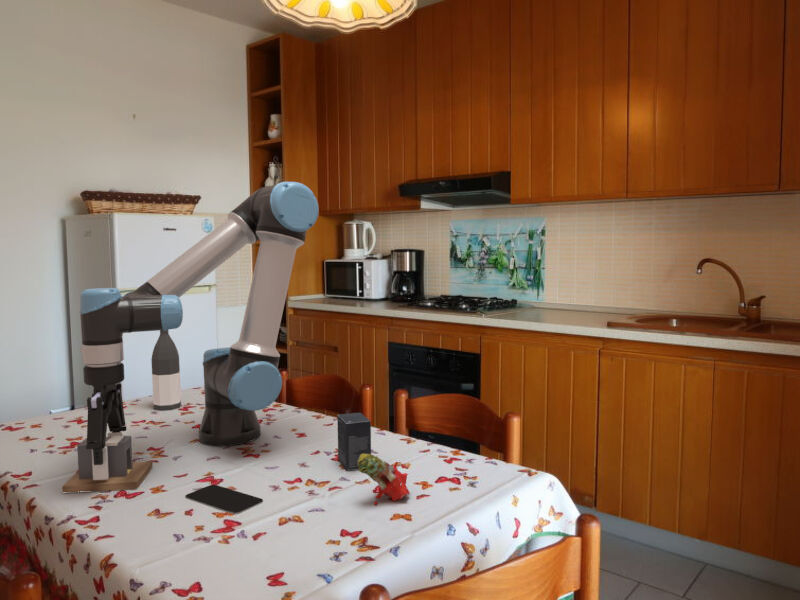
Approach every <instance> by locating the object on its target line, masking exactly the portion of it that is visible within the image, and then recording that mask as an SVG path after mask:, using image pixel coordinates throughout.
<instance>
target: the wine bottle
mask: <svg viewBox="0 0 800 600" xmlns="http://www.w3.org/2000/svg"><path fill="white" fill-rule="evenodd" d="M180 369H181V368H180V355H179V350H178V349H177V346H176V344H175V342H174V340H173V338H172V337H171V335H170V334H169V330H166V331H164V330H159V336H158V339H157V340H156V343H155V345H154V348H153V350H152V354H151V377H152V378H151V379H152V382H151V383H152V397H153V398H152V399H153V401H152V402H153V403H152V404H153V409H154V410H155V411H162V412H163V411H172V410H176V409H180V408H181V405H182V394H181V392H182V391H181V371H180Z"/></svg>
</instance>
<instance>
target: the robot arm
mask: <svg viewBox="0 0 800 600" xmlns="http://www.w3.org/2000/svg"><path fill="white" fill-rule="evenodd" d="M319 212H320V209H319V203H318V200H317V197H316V196H315V194H314V192H313V191H312V189H310V188H309V187H308V186H307V185H305V184H304V183H301V182H298V181H297V182H296V181H282V182H279V183H277V184H272V185H266V186H264V187H263V186H262V187H260V188H259V189H257V190H255V191H254V192H253V193H251V195H249V196H248V197H247V198H246V199H244V200H243V201H242V202H241V203H240V204H239V205H237V206H236V207H235V208H234V209H232V210H231V211H230V212H229V213H228V214H227V220H224V222H222V223H221V224H220V225H219V226H217V227H216V228H215V229H213V230H212V231H211V232H209V233H208V234H207V235H205V236H204V237H202V238H201V239H200V240H199V241H198V242H196V243H195V244H194V245H192V246H191V247H190V248H189V249H187V250H186V251H184V252H183V253H182V254H181V255H179V256H178V257H177V258H175V259H174V260H173V261H172V262H170V263H169V264H167V265H166V266H164V267H163V268H162V269H161V270H160V271H158V272H157V273H156V274H155V275H153V276H152V277H151V278H149V279H148V280H147V281H145V282H144V283H143V284H142V285H140V286H139V287H137V288H136V289H135V290H132V291H129V292H126V293H125V294H124V295H122V294H121V290H120V289H119V288H117V287H101V288H100V287H98V288H97V287H96V288H87V289H86V288H85V289H84V290H83V291H81V292H80V306H79V307H80V308H79V309H80V311H79V314H80V330H81V345H82V347H81V348H80V349H79V351H80V353H82V363H83V364H84V366H83V368H82V370H83V371H82V373H83V383H84V384H85V385H87V386H92V387H93V390H92V391H93V392H92V395H91V397H89V396H88V397H87V398H86V406H87V423H86V424H87V426H86V429H87V430H86V438H87V446H86V449H92V467H93V480H105V479H108V478H109V474H108V453H107V446H106V447H105V441H106V437H112V436H118V435H123V432H126V431H127V426H125V425H126V419H125V411H124V402H123V395H122V393H123V392H122V382H123V381H124V380H125V364H124V363H123V362H124V360H125V357H124V356H125V355H124V353H125V352H124V341H123V336H124V335H123V334H125V333H126V334H130V333H137V332H140V333H141V332H154V331H155V332H157V331H160V330H164V331H166V330H168V331H170V330H176V329H178V328H180V327H181V325H182V323H183V316H184V315H183V314H184V312H183V311H184V310H183V309H184V308H183V304H182V301H181V296H183V295H185V294H186V293H187V292H188V291H190V289H192V288H193V287H195V286H196V285H197V284H198V283H199V282H201V281H202V280H203V279H205V278H206V277H207V276H209V274H211V273H212V272H213V271H215V270H216V269H217V268H219V267H220V266H221V265H222V264H223V263H225V262H226V261H227V260H229V258H231V257H233V256H234V255H235V254H236V253H237V252H238V251H240V250H241V249H242V248H244V247H245V246H247V244H248V245H249V244H250V245H254V244H255V243H256V242H258V241H259V247H258V252H257V255H256V260H255V265H254V270H253V274H252V275H253V276H252V278H251V283H250V288H249V292H248V296H247V297H248V298H247V302H246V307H245V311H244V316H243V321H242V325H241V328H240V334H239V338H238V340H237V341H236V342H235V343H233V344H231V345H230V347H220V348H211V349H207V350H205V351H204V352H203V356H202V357H203V361H202V366H203V384H204V385H203V387H204V406H205V407H204V411H203V416H202V418H201V419H202V420H201V422H200V426H199V429H198V441H199V442H200V443H202V444H204V445H208V446H217V447H218V446H220V447H221V446H224V447H225V446H235V445H241V444H245V443H249V442H252V441H254V440H257V439H258V438H259V437H260V436H261V435H262V433H261V432H262V431H261V425H260V421H259V418H258V416H257V414H256V411H260V410H263V409H266V408H268V407H269V406H270V405H272V404H273V403H274V402H275V401H276V400H277V398H278V397H279V395H280V393H281V390H282V386H283V377H282V375H281V373H280V371H279V369H278V368H279V362H280V359H281V358H280V357H281V354H280V353H279V351H278V350H277V348H276V347H277V346H276V345H277V341H278V337H279V336H278V335H279V331H280V328H281V322H282V319H283V318H282V317H283V312H284V308H285V303H286V299H287V294H288V290H289V286H290V280H291V275H292V271H293V267H294V262H295V257H296V253H297V250H298V248H300V247H302V246H304V245H305V242H306V236H307V232H308V230H310V229H311V228H312V227H314V225H315V224H316V222H317V220H318V217H319ZM108 430H109V432H108V433H107V431H108ZM95 441H96V442H95Z"/></svg>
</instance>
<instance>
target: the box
mask: <svg viewBox="0 0 800 600" xmlns="http://www.w3.org/2000/svg"><path fill="white" fill-rule="evenodd" d="M371 427H372V425H371V420H370V419H369V418H368V417H366V416H365V415H364V414H363V413H362V412H353V413H351V412H350V413H342V414H341V413H340V414H337V460H338V462H340V464H341V465H342V466H343V467H344V468H345V470H346V471H359V466H358V465H357V463H358V459H359V457H360V455H361V454H371V455H372V428H371Z"/></svg>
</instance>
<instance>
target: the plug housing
mask: <svg viewBox="0 0 800 600" xmlns="http://www.w3.org/2000/svg"><path fill="white" fill-rule="evenodd" d="M95 442H96V441H95ZM132 442H133V441H132V435H126V434H122V435H118V436H112V437H108V436H106V441H105V447H106V446H107V453H108V474H109V477H126V476H127V474H128V473H127V470H129V469H131V470H132V468H133V462H134V461H133V446H132V445H133V444H132ZM76 446H77V463H78V471H79V479H93V467H92V449H86V446H87V437H86V438H84V440H82V441H81V442H80V443H79V444H78V445H76Z"/></svg>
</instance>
